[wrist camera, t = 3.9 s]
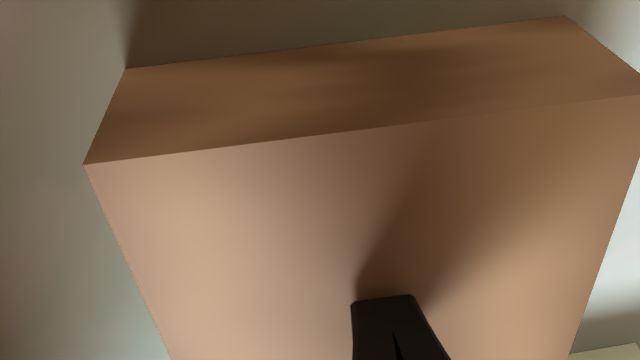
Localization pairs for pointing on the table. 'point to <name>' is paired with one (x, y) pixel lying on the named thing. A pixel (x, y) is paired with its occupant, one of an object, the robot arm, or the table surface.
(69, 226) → the table surface
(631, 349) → the numbered block seven
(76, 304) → the table surface
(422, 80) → the plain walnut block
